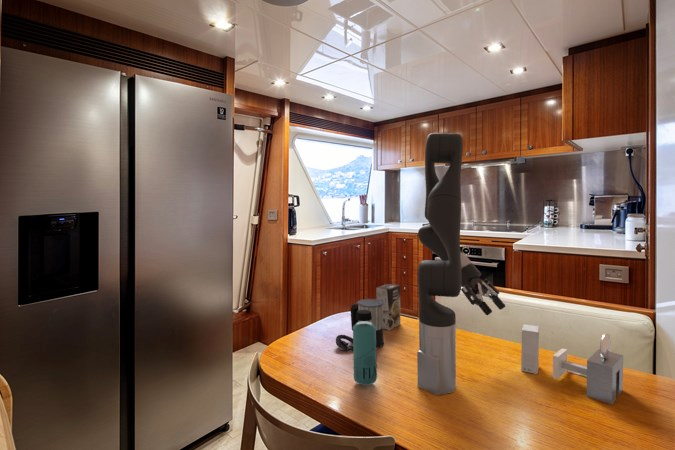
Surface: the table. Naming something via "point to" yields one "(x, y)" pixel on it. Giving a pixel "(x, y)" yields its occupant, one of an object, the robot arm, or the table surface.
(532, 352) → the skincare box
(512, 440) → the table surface
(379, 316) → the milk frother
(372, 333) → the beverage bottle
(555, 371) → the gauge plunger
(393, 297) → the coffee box
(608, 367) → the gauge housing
